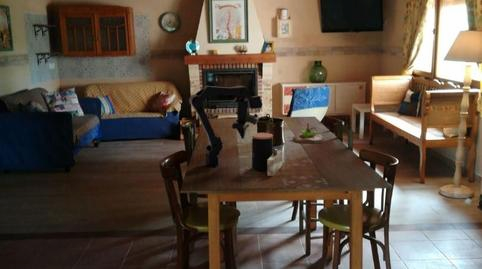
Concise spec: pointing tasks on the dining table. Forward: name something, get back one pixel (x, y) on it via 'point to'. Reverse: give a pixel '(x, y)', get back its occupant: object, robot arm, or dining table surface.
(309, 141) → the plant
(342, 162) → the dining table surface
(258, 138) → the coffee jar
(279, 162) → the bench stop
